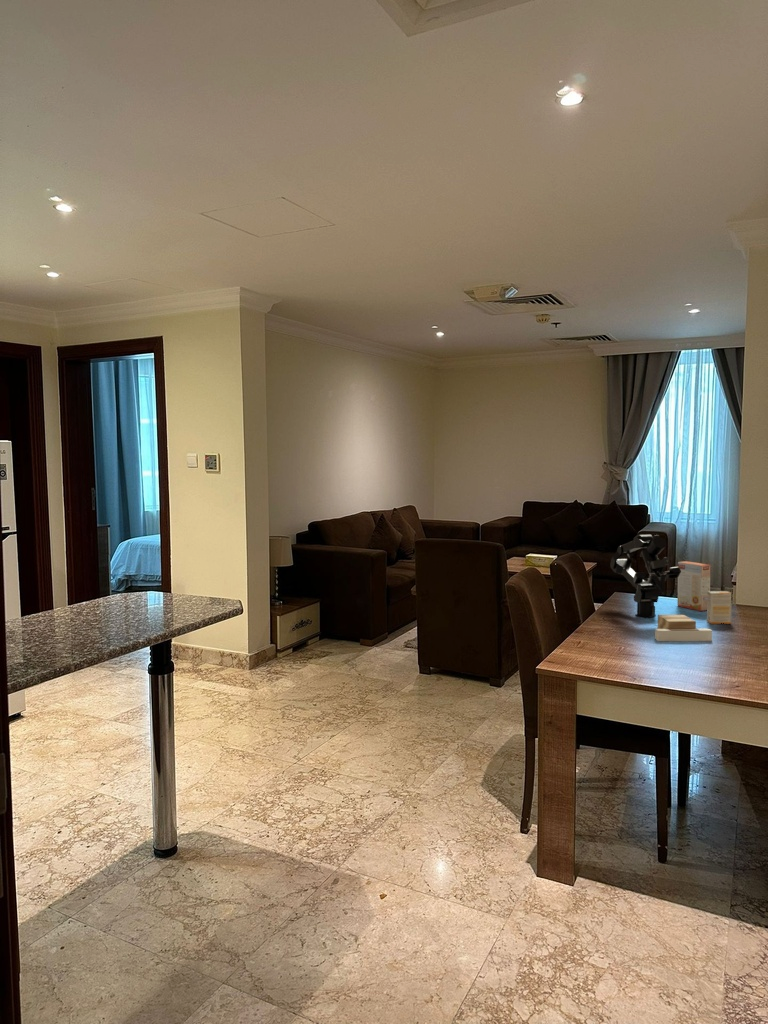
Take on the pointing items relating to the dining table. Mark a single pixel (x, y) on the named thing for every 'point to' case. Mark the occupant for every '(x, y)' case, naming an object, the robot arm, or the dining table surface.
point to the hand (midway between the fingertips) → (663, 593)
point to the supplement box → (719, 607)
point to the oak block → (675, 622)
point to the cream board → (683, 634)
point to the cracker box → (693, 585)
